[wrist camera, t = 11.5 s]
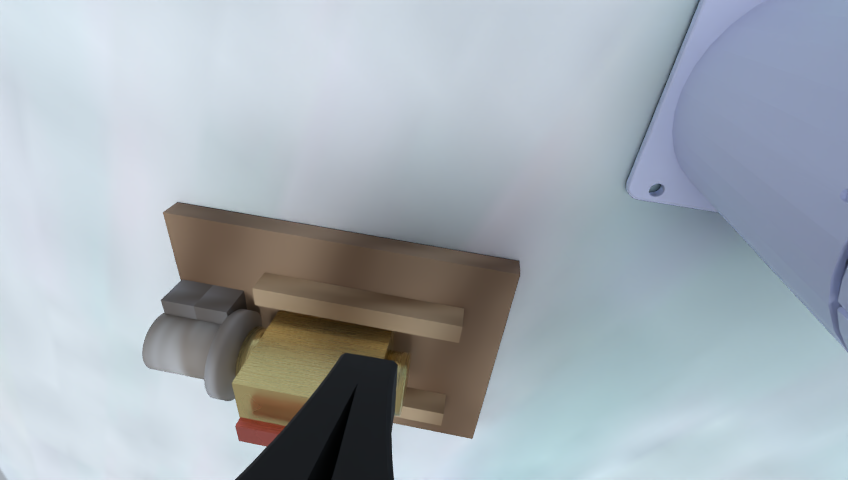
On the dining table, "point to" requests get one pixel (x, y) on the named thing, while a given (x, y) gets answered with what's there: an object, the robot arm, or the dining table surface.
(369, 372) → the robot arm
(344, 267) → the pipe board
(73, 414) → the dining table surface
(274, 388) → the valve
